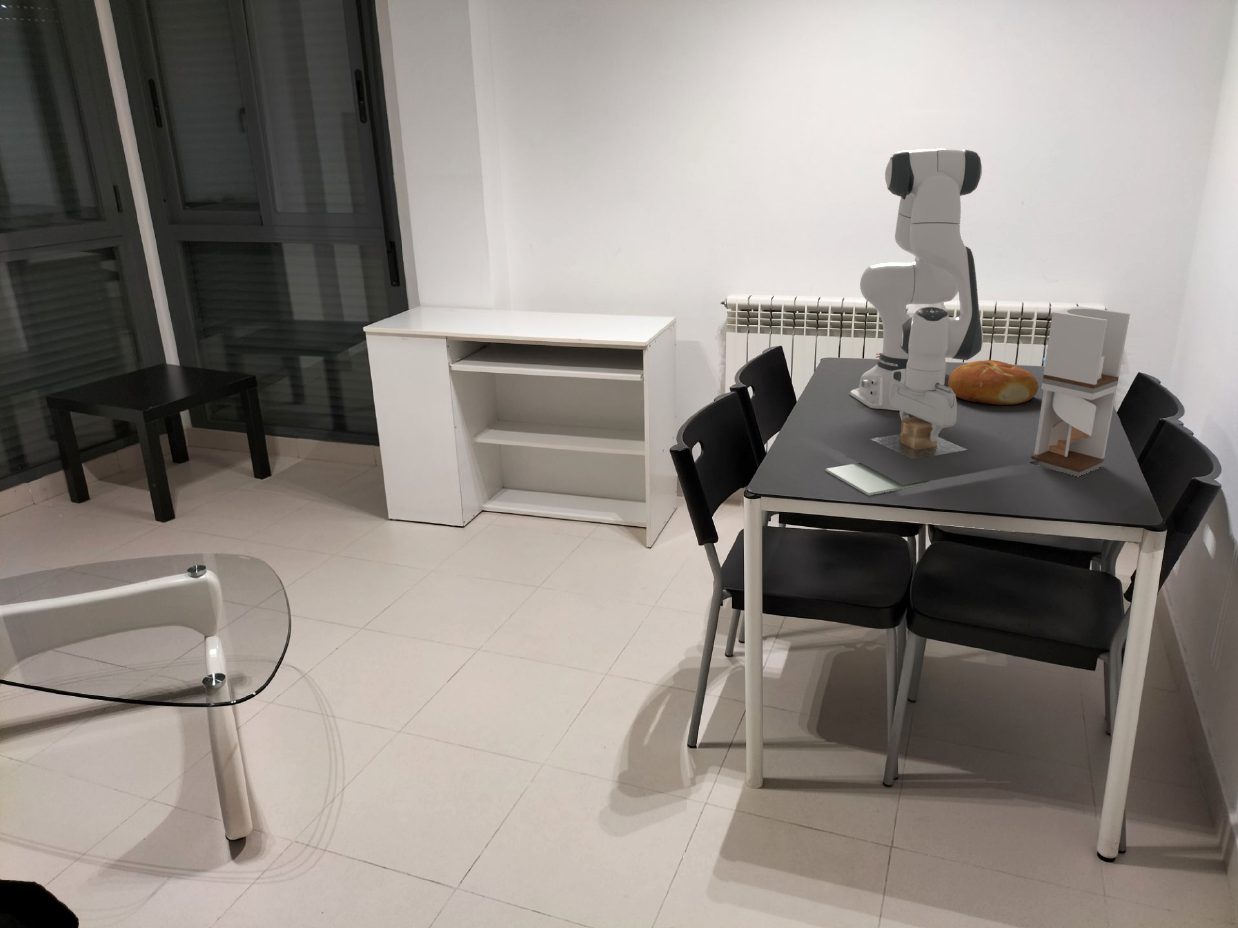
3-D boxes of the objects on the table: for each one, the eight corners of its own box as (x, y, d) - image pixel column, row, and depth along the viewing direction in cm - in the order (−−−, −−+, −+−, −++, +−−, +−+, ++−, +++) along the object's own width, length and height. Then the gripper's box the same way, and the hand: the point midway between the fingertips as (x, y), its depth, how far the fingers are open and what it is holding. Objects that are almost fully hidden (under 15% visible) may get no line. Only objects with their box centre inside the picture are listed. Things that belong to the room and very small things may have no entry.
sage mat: (825, 471, 209) (825, 468, 209) (883, 461, 214) (884, 458, 214) (868, 495, 195) (868, 492, 195) (929, 484, 200) (930, 481, 200)
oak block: (899, 442, 222) (902, 418, 220) (920, 438, 224) (922, 415, 222) (916, 449, 217) (918, 425, 215) (936, 446, 219) (939, 422, 217)
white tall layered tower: (1030, 463, 212) (1052, 312, 199) (1054, 453, 218) (1077, 306, 205) (1078, 477, 203) (1105, 320, 191) (1102, 466, 209) (1130, 313, 197)
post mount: (869, 444, 225) (871, 421, 223) (922, 436, 231) (925, 413, 229) (911, 465, 211) (914, 440, 209) (967, 455, 217) (970, 431, 215)
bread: (1018, 414, 247) (1023, 378, 243) (934, 399, 261) (937, 365, 258) (1046, 395, 263) (1051, 361, 260) (965, 382, 277) (969, 350, 274)
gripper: (966, 388, 207) (959, 446, 212) (908, 367, 225) (902, 421, 230) (944, 391, 205) (937, 449, 210) (886, 370, 223) (882, 424, 228)
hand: (919, 434), depth 220 cm, fingers open, 8 cm apart
